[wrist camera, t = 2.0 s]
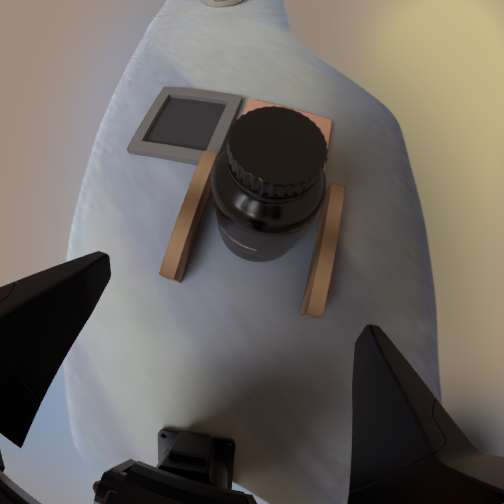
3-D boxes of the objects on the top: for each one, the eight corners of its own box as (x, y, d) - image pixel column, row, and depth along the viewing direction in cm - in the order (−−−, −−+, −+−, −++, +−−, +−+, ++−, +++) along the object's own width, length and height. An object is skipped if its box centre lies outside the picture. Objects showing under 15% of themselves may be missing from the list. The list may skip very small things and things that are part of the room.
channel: (313, 317, 22) (322, 317, 19) (167, 279, 22) (158, 274, 20) (335, 198, 24) (345, 186, 22) (206, 165, 25) (203, 150, 22)
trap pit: (214, 168, 25) (214, 164, 24) (129, 153, 25) (126, 149, 24) (242, 101, 27) (242, 96, 26) (165, 91, 27) (164, 86, 26)
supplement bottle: (218, 264, 23) (196, 206, 11) (220, 188, 24) (207, 90, 13) (301, 264, 23) (358, 209, 11) (296, 190, 24) (334, 97, 13)
